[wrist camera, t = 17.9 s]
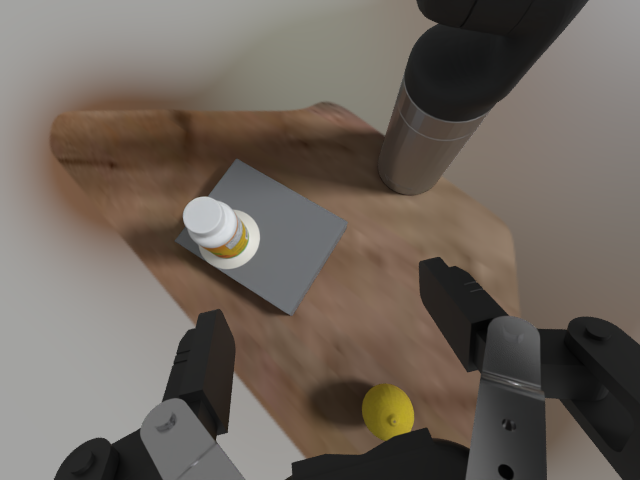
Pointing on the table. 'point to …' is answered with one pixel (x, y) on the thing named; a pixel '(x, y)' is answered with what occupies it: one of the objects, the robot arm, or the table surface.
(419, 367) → the table surface
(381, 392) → the lemon
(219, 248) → the supplement bottle
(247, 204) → the plinth
